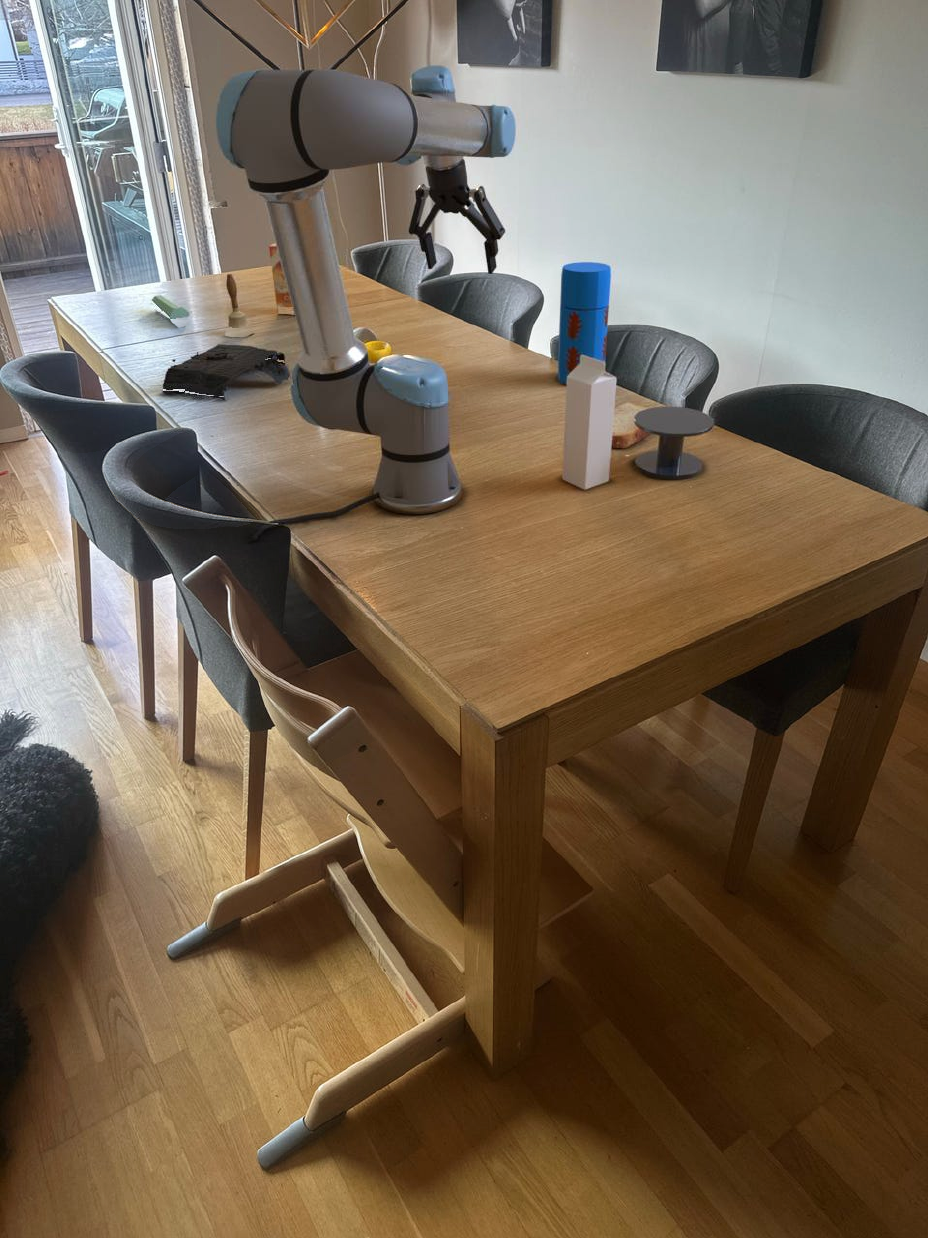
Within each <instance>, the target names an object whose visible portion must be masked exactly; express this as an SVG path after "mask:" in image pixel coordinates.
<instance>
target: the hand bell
mask: <svg viewBox="0 0 928 1238" xmlns="http://www.w3.org/2000/svg"><path fill="white" fill-rule="evenodd" d="M225 282H226V283H225V285H226V291H227V294H228V295H229V297H230V302H231V308H232V312H231V313H229V314H228V324H227V327H228V326H229V327H232V328H242V327H247V326H248V325H249V322H248V321H247V318H246V314H245V313H244V312H242V311H240V308H239V304H238V299H237V298H238V297H237V296H238V288H237V287H238V286H237V283H236V281H235V278H234V276H233V274H232V273H228V274H226V281H225Z"/></svg>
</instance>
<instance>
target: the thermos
mask: <svg viewBox="0 0 928 1238" xmlns="http://www.w3.org/2000/svg"><path fill="white" fill-rule="evenodd" d="M611 268H612V267H611V266H610V265H609V264H606V263H601V262H595V261H594V262H593V261H592V262H591V261H580V262H570V263H567V264H564V265H563V266H562V268H561V274H560V278H561V279H560V296H559V297H560V301H559V303H560V305H559V323H558V324H559V325H558V326H559V327H558V352H557V353H558V354H557V378H558V379H557V380H558V382H560V383H561V384H564V385H566V386H567V376H568V375H569V374H570V373H571V372H572V371H573V370H574V369H575V368H576V367H577V366H578V365H579V364H580V356H581V355H584V356H588V357H591V358H594V359H597V360H600V361H603V362H605V363H606V353H607V341H608V340H607V339H608V327H609V326H608V325H609V312H610V311H609V310H610V296H611V294H610V293H611V282H612V281H611V280H612V269H611Z"/></svg>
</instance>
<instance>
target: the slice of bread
mask: <svg viewBox="0 0 928 1238" xmlns="http://www.w3.org/2000/svg"><path fill="white" fill-rule="evenodd" d="M659 407H664V405H661V406H659ZM649 408H650V407H646V406H643V405H640V404H637V403H634V402H629V401H625V402H622V403H620V404H618V405H615V406H614V419H613V432H612V445H611V448H612V449H613V448H614V449H627V448H630V446H634V445H635V444H638V443H639V442H640V441H643V439H644V438H646V437H647V436H649V435H650V434H651V433H648V432H646V431H643V430H641V429H640V428H638V427H637V426H636V425H635V423H634V417H635V415H636V414H637V413H638V412H640V411H642V410H645V409H649Z"/></svg>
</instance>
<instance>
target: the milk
mask: <svg viewBox="0 0 928 1238" xmlns="http://www.w3.org/2000/svg"><path fill="white" fill-rule="evenodd" d="M616 391H617V377H616V376H614V375H613V374H611V373H609V372H607V371H606V361H605V362H603V361H600V360H597V359H594V358H591V357H588V356H584V355H581V356H580V364H579V365H578V366H577V367H576V368H575V369H574V370H573V371H572V372H571V373H570V374H569V375H568V376H567V385H566V388H565V407H564V408H565V410H564V411H565V412H564V431H563V452H562V453H563V455H562V456H563V457H562V474H561V476H562V477H561V479H562V480H563V481H565V482H568V483H569V484H571V485H573V486H575V487H577V488H580V489H582V490H584V491H586V490H589V489H591V488H595V487H596V486H599V485H602V484H605V483H608V482H610V470H611V456H612V447H611V445H612V432H613V419H614V407H616V405H615V404H616V403H615V402H616Z"/></svg>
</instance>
